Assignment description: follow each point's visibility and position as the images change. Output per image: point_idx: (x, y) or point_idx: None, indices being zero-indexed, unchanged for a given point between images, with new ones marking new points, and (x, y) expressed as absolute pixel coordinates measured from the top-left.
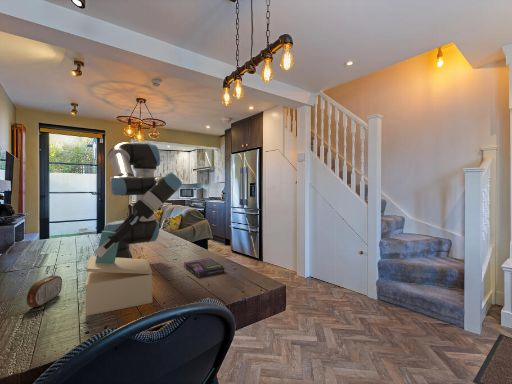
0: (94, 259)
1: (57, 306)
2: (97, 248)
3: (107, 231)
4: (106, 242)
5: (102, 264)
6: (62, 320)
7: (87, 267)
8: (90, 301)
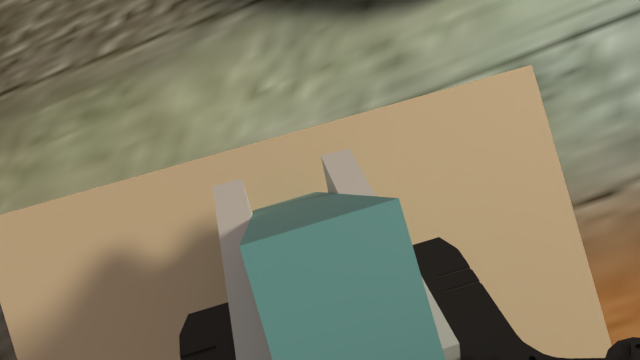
0: (392, 154)
1: (301, 42)
2: (331, 183)
3: (384, 354)
4: (241, 351)
5: (216, 298)
6: (104, 146)
7: (20, 213)
8: None
